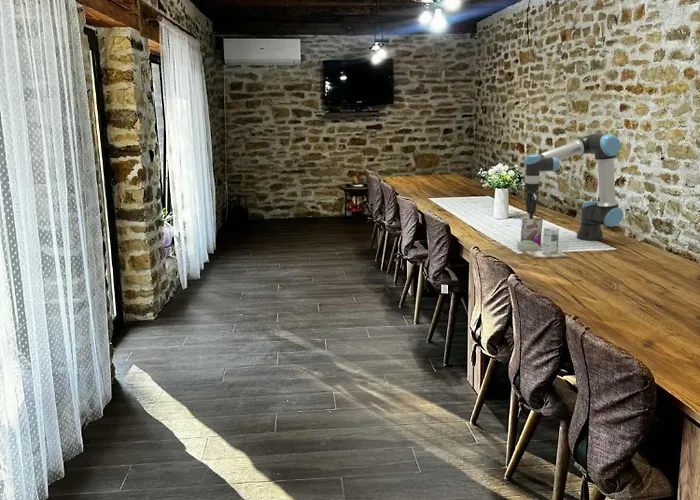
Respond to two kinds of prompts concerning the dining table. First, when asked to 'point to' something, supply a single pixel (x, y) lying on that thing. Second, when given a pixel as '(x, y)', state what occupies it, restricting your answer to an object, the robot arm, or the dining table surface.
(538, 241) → the candy bar box
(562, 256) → the drawing board
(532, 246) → the button housing
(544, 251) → the syrup box
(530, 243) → the button
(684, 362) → the dining table surface
